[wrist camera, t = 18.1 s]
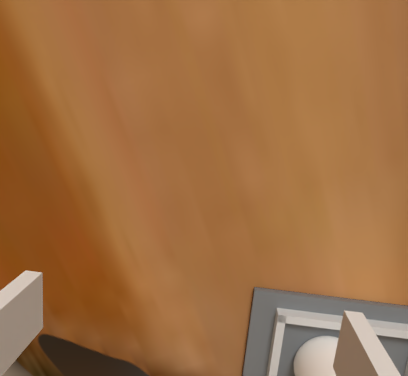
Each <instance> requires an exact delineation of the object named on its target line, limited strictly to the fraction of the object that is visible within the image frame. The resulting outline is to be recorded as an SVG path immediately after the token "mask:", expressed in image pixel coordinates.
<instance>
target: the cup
mask: <svg viewBox="0 0 408 376" xmlns="http://www.w3.org/2000/svg"><path fill="white" fill-rule="evenodd" d="M337 343H338V338H337V337H333V336H318V337H315V338H312V339H310V340H308V341H307V342H305V343H304V344H303V345H302V346H301V347H300V348H299V349H298V351H297V353H296V355H295V358H294V374H295V376H336V374H335V371H334V368H333V363H334V358H335V353H336V348H337Z"/></svg>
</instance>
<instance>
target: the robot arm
mask: <svg viewBox="0 0 408 376" xmlns="http://www.w3.org/2000/svg"><path fill="white" fill-rule="evenodd" d="M42 328H43V282H42V273H41V272H33V271H24V272H23V273H22V274H21V275H20V276H18V277H17V278H16V279H15V280H13V281H12V282H11V283H10V284H8V285H7V286H6V287H5V288H3V289H2V290H1V291H0V376H2V375H3V374H4V373H5V372H6V370H7V369H8V368H9V367H10V366H11V365H12V363H13V362H14V361H15V360H16V359H17V358H18V356H19V355H20V354H21V353H22V352H23V351H24V349H25V348H26V347H27V346H28V345H29V343H30V342H31V341H32V340H33V339H34V338H35V336H36V335H37V334H38V333H39V332H40V331H41V329H42ZM333 368H334V371H335V374H336V376H401V375H400V373H399V372H398V370H397V368H396V367H395V365H394V363H393V362H392V360H391V358H390V357H389V355H388V354H387V352H386V350H385V349H384V347H383V345H382V344H381V342H380V340H379V339H378V337H377V335H376V334H375V332H374V331H373V329H372V327H371V326H370V324H369V322H368V321H367V319H366V317H365V316H364V314H363V313H361V312H353V311H345V310H344V313H343V318H342V323H341V328H340V333H339V338H338V343H337V348H336V353H335V358H334V363H333Z"/></svg>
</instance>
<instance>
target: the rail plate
mask: <svg viewBox="0 0 408 376" xmlns="http://www.w3.org/2000/svg"><path fill="white" fill-rule="evenodd" d="M344 310H345V311H353V312H361V313H363V314H364V316H365V317H366V319H367V321H368V322H369V324H370V326H371V327H372V329H373V331H374V332H375V334H376V335H377V337H378V339H379V340H380V342H381V344H382V345H383V347H384V349H385V350H386V352H387V354H388V355H389V357H390V358H391V360H392V362H393V363H394V365H395V367H396V368H397V370H398V372H399V373H400V375H401V376H408V306H405V305H396V304H388V303H380V302H372V301H364V300H356V299H348V298H339V297H331V296H323V295H315V294H307V293H299V292H291V291H282V290H274V289H266V288H258V287H254V293H253V300H252V307H251V315H250V322H249V329H248V337H247V344H246V351H245V359H244V366H243V373H242V376H295V374H294V358H295V355H296V353H297V351H298V349H299V348H300V347H301V346H302V345H303V344H304V343H305V342H307V341H308V340H310V339H312V338H315V337H318V336H333V337H337V338H339V333H340V328H341V323H342V318H343V313H344Z"/></svg>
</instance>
